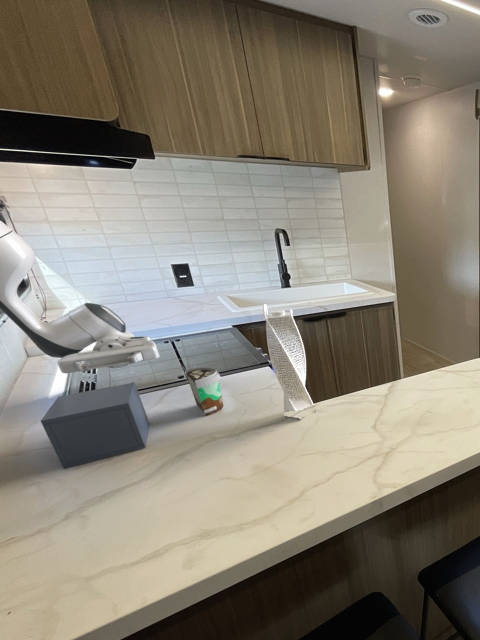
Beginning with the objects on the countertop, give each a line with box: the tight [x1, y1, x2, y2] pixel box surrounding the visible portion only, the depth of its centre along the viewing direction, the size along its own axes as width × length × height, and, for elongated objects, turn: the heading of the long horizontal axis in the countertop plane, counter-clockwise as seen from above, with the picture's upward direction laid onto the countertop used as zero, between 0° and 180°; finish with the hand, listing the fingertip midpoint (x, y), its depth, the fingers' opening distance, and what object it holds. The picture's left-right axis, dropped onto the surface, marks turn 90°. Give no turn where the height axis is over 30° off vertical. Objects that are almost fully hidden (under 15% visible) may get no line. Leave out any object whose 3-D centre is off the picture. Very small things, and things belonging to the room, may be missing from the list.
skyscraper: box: [262, 303, 315, 414], centre depth 97 cm, size 8×8×28 cm
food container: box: [184, 367, 224, 417], centre depth 105 cm, size 12×6×10 cm, turn 46°
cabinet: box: [40, 382, 150, 469], centre depth 88 cm, size 15×13×11 cm
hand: (108, 364), depth 105 cm, fingers open, 8 cm apart
